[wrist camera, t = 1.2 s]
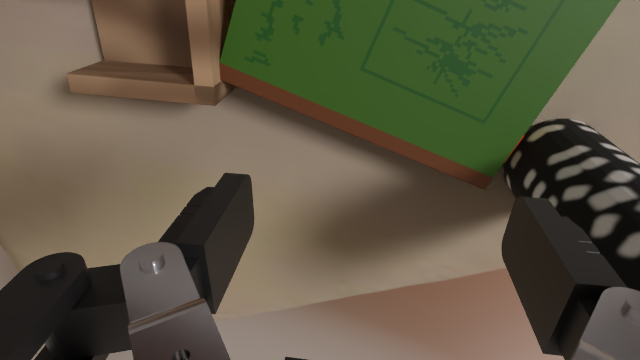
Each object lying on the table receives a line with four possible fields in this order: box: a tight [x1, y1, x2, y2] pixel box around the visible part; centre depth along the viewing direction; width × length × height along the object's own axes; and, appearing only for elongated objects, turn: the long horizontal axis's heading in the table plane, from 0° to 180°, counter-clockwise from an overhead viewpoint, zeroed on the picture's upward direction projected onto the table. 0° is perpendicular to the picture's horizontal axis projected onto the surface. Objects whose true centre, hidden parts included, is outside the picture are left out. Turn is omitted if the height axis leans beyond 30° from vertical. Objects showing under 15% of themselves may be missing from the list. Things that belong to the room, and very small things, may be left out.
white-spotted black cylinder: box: [503, 119, 640, 291], centre depth 27 cm, size 8×8×20 cm
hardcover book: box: [219, 0, 620, 190], centre depth 29 cm, size 25×19×4 cm
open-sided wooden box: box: [66, 0, 237, 106], centre depth 31 cm, size 11×12×6 cm
